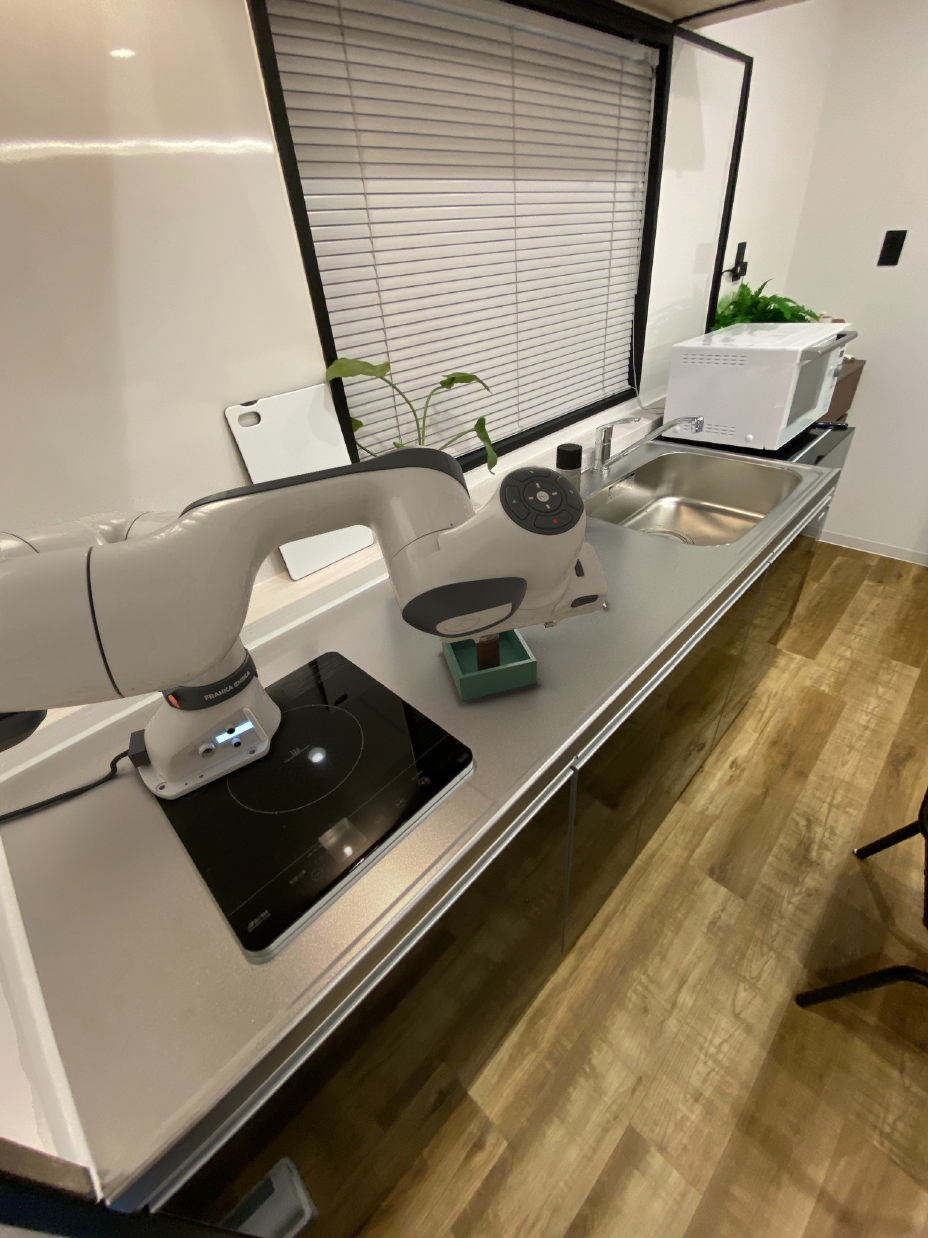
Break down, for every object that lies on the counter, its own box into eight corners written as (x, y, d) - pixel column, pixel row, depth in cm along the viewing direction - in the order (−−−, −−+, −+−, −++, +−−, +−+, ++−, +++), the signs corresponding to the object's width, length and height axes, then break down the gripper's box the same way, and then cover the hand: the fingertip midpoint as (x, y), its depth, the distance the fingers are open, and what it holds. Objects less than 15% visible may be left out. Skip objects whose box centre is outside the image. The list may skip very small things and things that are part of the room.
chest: (536, 686, 93) (536, 660, 90) (462, 704, 91) (459, 678, 88) (509, 639, 105) (509, 614, 102) (443, 654, 103) (440, 629, 100)
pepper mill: (489, 680, 94) (486, 631, 88) (472, 670, 97) (468, 622, 91) (505, 668, 97) (503, 620, 91) (488, 659, 99) (485, 611, 93)
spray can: (565, 511, 153) (567, 440, 141) (583, 517, 148) (587, 445, 137) (549, 518, 149) (550, 447, 138) (568, 525, 145) (570, 452, 133)
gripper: (435, 630, 55) (441, 668, 68) (622, 590, 57) (594, 635, 70) (423, 576, 58) (432, 624, 70) (604, 540, 59) (580, 592, 72)
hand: (514, 629), depth 70 cm, fingers open, 8 cm apart
